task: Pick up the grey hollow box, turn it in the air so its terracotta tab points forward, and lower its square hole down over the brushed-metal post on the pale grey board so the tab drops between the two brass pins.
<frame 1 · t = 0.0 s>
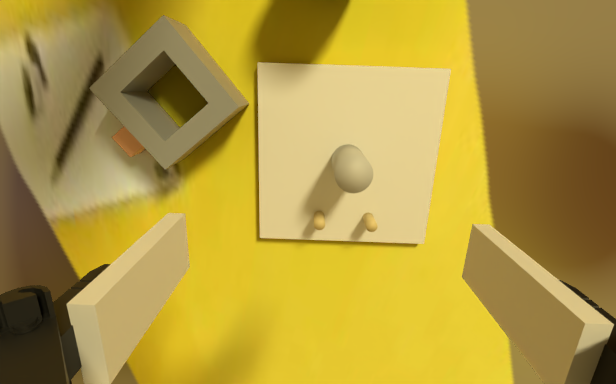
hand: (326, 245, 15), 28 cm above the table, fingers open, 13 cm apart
grey hollow box: (185, 95, 41), on the table
post block: (346, 158, 43), on the table
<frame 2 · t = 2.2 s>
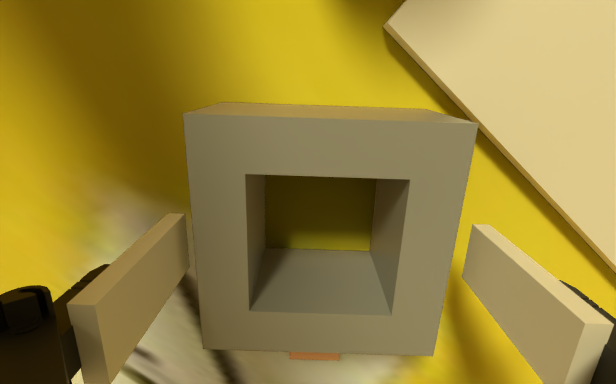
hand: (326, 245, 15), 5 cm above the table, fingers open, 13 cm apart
grey hollow box: (319, 200, 20), on the table
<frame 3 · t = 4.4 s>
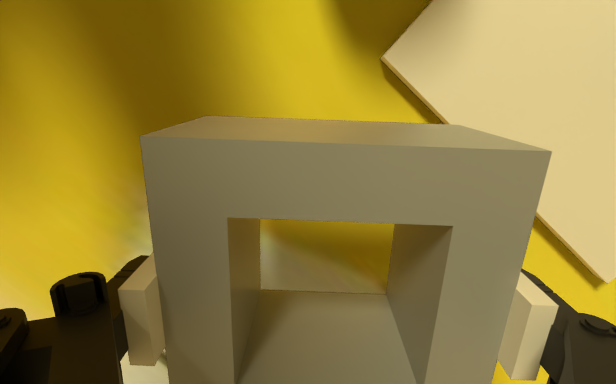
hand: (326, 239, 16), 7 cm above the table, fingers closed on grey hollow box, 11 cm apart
grey hollow box: (326, 234, 16), point 7 cm above the table, touching gripper
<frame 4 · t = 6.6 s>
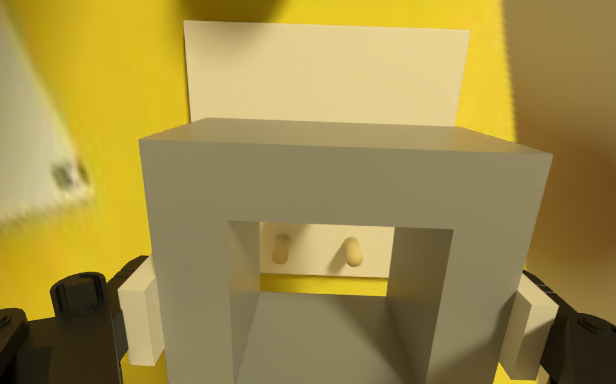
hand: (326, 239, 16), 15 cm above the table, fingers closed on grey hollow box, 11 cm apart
grey hollow box: (326, 236, 16), point 15 cm above the table, touching gripper
post block: (320, 161, 30), on the table
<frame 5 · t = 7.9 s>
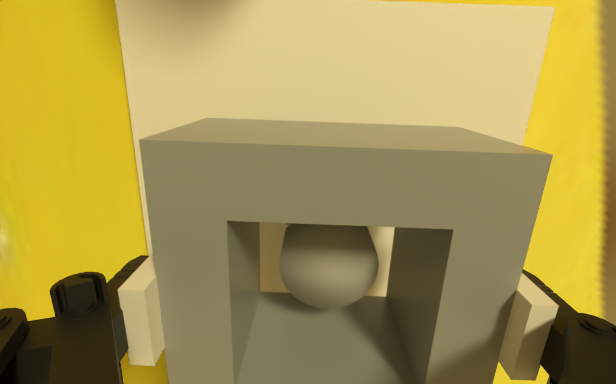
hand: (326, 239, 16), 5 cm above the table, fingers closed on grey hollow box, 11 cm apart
grey hollow box: (326, 236, 16), point 5 cm above the table, touching gripper
post block: (323, 199, 21), on the table
when the fingers open (2 cm above the table, at t = 9.1 s): grey hollow box stays where it is, resting on post block.
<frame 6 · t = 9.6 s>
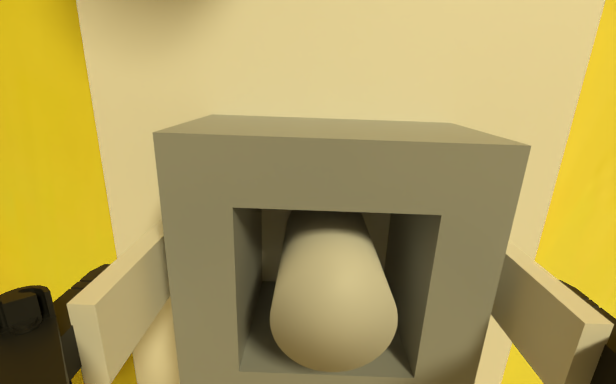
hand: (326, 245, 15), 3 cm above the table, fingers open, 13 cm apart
grey hollow box: (325, 228, 17), point 1 cm above the table, touching post block
post block: (324, 220, 18), on the table
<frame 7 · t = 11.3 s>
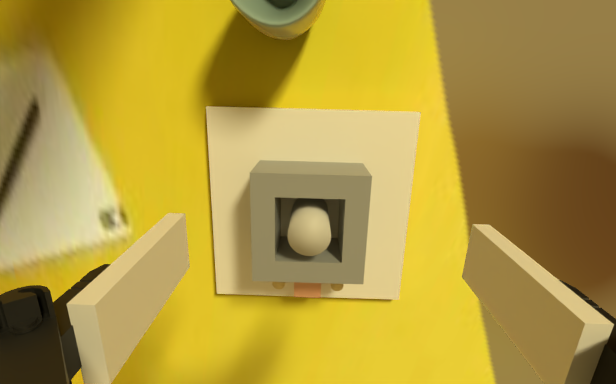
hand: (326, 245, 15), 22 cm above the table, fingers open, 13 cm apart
grey hollow box: (309, 210, 37), point 1 cm above the table, touching post block
post block: (310, 207, 39), on the table
cup: (285, 3, 33), on the table
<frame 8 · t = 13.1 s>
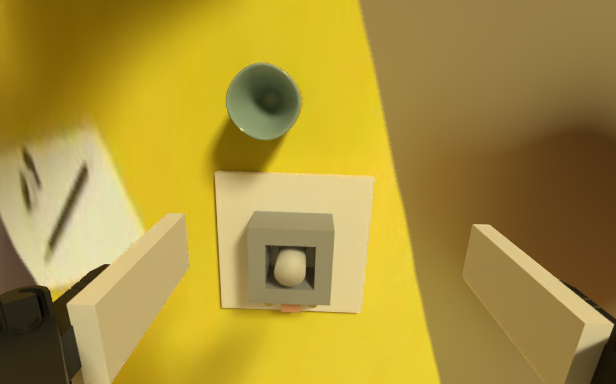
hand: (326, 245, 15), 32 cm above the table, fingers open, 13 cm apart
grey hollow box: (292, 247, 49), point 1 cm above the table, touching post block
post block: (293, 243, 51), on the table
cup: (274, 98, 44), on the table
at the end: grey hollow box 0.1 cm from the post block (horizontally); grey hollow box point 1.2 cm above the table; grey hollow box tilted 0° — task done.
